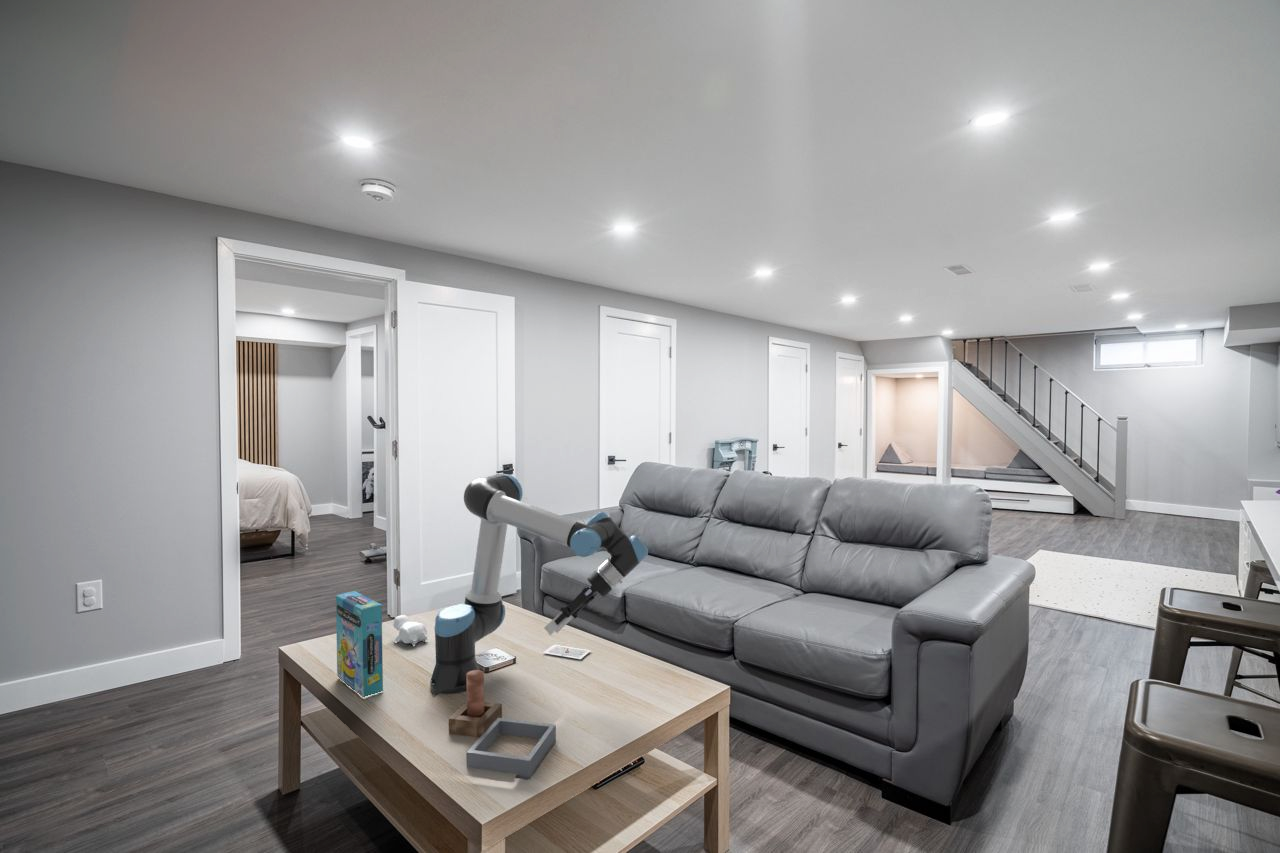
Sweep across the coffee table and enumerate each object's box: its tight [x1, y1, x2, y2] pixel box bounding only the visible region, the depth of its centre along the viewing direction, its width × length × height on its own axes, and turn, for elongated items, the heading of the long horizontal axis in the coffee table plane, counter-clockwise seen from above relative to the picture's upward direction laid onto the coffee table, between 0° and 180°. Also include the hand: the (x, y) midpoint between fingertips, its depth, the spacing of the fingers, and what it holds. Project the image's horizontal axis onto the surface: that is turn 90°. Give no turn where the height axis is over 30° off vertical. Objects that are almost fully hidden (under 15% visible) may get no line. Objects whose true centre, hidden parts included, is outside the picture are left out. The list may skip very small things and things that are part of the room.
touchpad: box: [542, 644, 592, 660], centre depth 206 cm, size 8×15×2 cm, turn 67°
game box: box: [335, 590, 384, 697], centre depth 182 cm, size 20×6×27 cm, turn 47°
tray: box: [465, 717, 557, 780], centre depth 144 cm, size 16×16×4 cm
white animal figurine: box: [393, 614, 429, 646], centre depth 219 cm, size 9×8×15 cm
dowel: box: [466, 669, 485, 718], centre depth 156 cm, size 4×4×14 cm
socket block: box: [448, 701, 503, 739], centre depth 156 cm, size 10×10×5 cm
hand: (550, 630), depth 171 cm, fingers open, 13 cm apart
